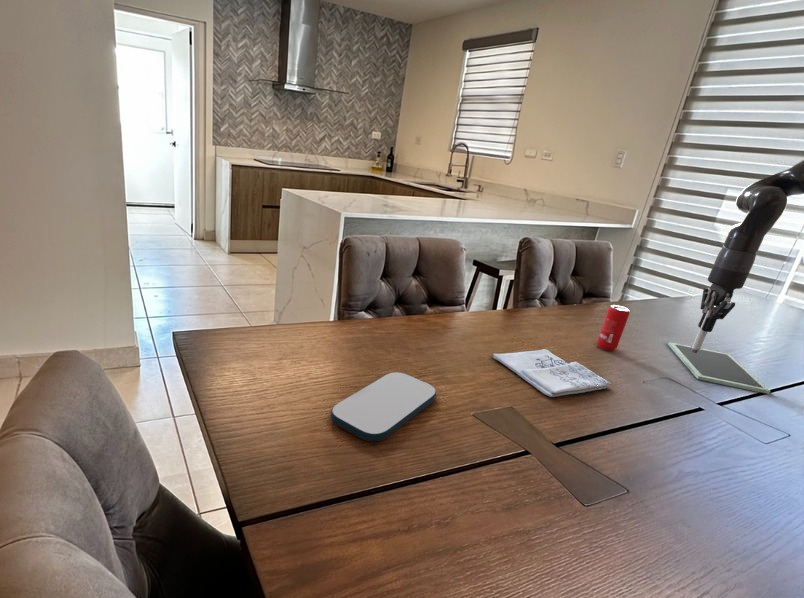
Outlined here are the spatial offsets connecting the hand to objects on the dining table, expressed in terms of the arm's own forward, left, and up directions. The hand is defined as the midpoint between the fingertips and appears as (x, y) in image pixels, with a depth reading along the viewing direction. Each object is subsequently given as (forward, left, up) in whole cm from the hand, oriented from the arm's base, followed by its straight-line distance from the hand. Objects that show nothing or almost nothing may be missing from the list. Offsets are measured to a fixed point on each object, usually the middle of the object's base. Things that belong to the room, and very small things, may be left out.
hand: (704, 329), depth 125 cm
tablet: (-6, 0, -10) cm, 12 cm away
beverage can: (+22, +2, -10) cm, 24 cm away
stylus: (0, 0, -7) cm, 7 cm away
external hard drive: (+73, +61, -10) cm, 96 cm away
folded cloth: (+40, +28, -10) cm, 50 cm away
